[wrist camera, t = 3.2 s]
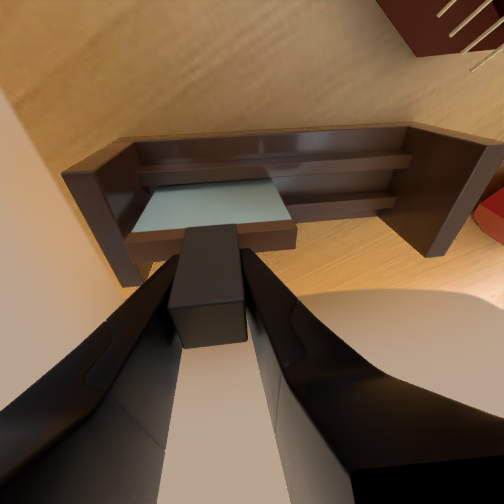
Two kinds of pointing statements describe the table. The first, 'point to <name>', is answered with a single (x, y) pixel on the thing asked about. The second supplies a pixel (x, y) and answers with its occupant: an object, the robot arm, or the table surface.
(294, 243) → the window pane
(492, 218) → the red toy block
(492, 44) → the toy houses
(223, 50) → the table surface
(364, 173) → the window frame
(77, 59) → the table surface
